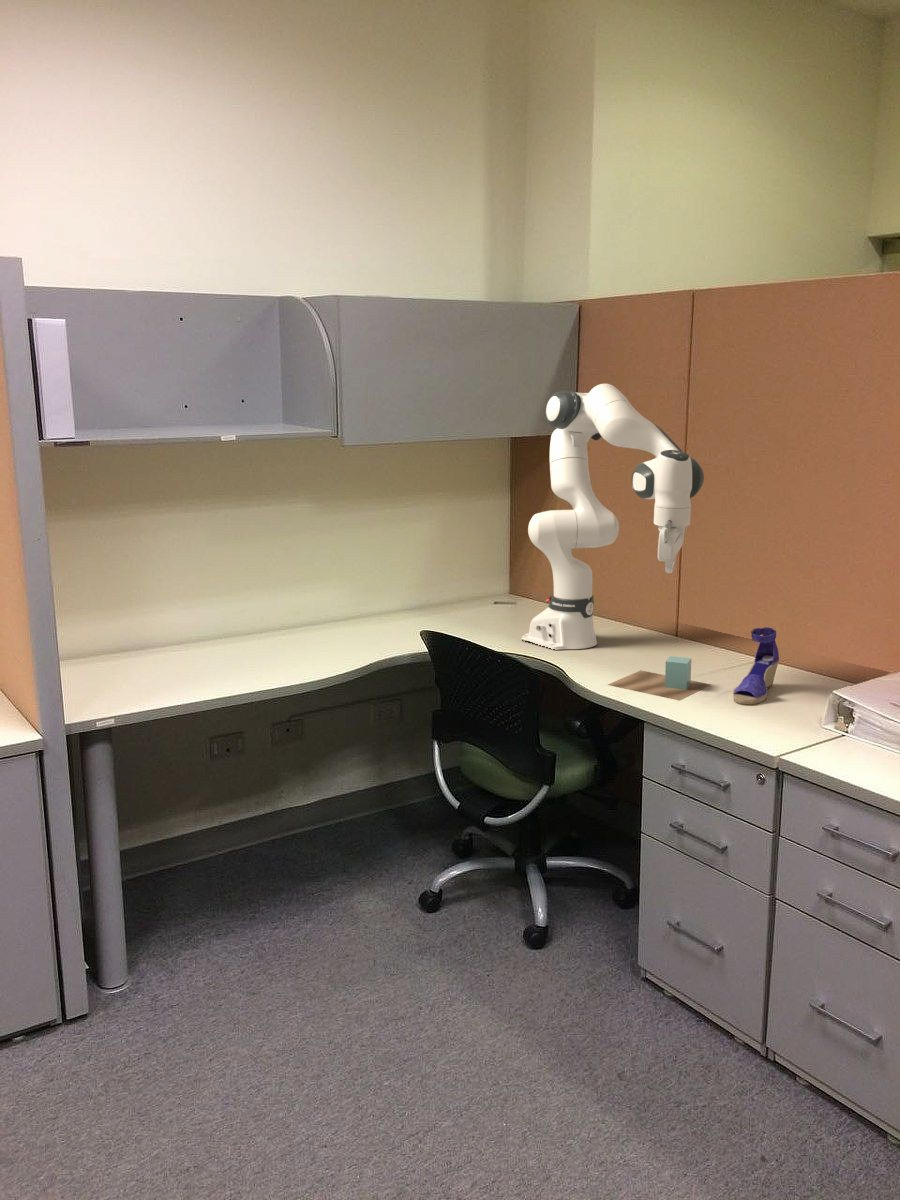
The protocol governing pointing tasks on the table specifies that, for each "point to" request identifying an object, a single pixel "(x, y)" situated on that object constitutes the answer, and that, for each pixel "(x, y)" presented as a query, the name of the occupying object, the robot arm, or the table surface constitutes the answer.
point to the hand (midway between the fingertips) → (669, 571)
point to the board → (656, 685)
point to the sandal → (759, 669)
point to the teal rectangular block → (678, 672)
